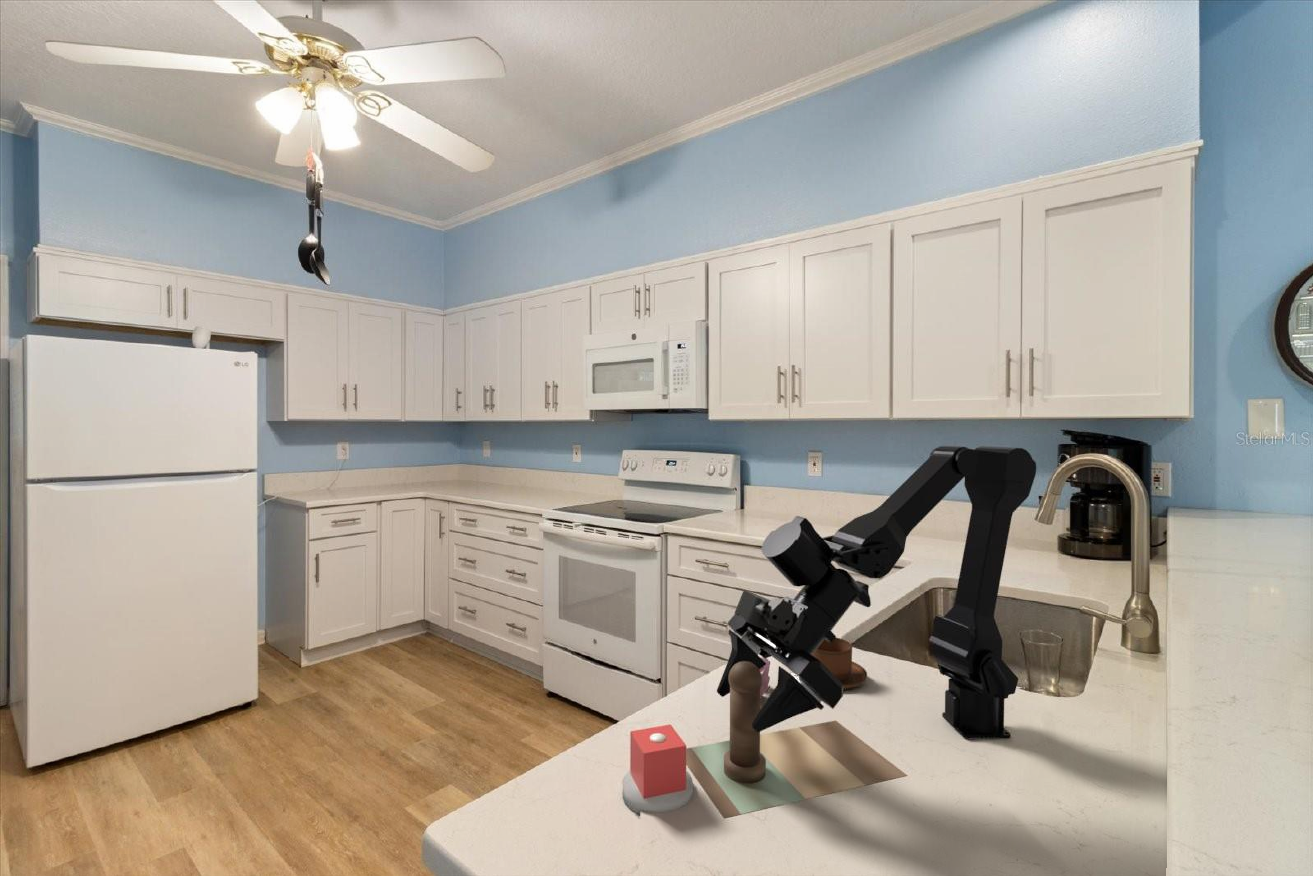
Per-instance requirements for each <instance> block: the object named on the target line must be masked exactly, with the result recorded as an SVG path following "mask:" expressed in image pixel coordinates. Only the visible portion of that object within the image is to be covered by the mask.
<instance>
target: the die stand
mask: <svg viewBox="0 0 1313 876" xmlns="http://www.w3.org/2000/svg"><path fill="white" fill-rule="evenodd" d="M629 733H630V736H629V738H630V739H629V740H630V743H629V744H630V745H629V747H630V751H629V753H630V756H629V757H630V758H629V759H630V760H629V763H630V765H629V766H630V767H629V770H628V771H627V772H626V773H625V774H624V776H623V779H622V800H623V803H624V805H626V807H627V808H628V809H629V810H631V811H632V812H634V813H635V814H637V815H641V811H645V812H649V813H666V812H671V811H676V810H678V809H680V808H682V807H683V806H684V805H686V804H687V803H688V802H689V801H690V800H691V798H692V796H693V790H694V789H693V788H694V783H693V778H692V776H691V774H690V773H689V772H688V771H687V765H686V748H687V745H686V743H685V741H684V740H683V739H682V738H681V736H680V735H679V734H678V733H677V730H675V728H674V727H673V725H672V724H666V725H659V726H654V727H648V728H642V729H635V730H631V731H630V732H629Z"/></svg>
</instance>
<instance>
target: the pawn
mask: <svg viewBox="0 0 1313 876" xmlns="http://www.w3.org/2000/svg"><path fill="white" fill-rule="evenodd" d="M728 680H729V684H730V693H729V740H730V750H729V751H727V752H726V753H725V755H724V773H725V775H726V776H727V777H728V778H730V779H731V780H733V781H736V782H739V783H745V784H750V783H756V782H759V781H761V780H762V779H764V777H765V775H766V759H765V757H764V756H763V755H762V754H761V753H760V735H761V731H760V732H757V731H755V730H754V729H753V728H752V723H753V721H754V719H755V718H756V716H757V714H758V713H759V711H760V710H761V698H760V688H761V685H762V675H761V672H760V670H759V669H758V667H757V666H756V665H754V664H753V663H751V662H748V661H741V662H738V663H736V664H735V665H734V666H733V667H732V668H731V670H730V672H729V677H728Z"/></svg>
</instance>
